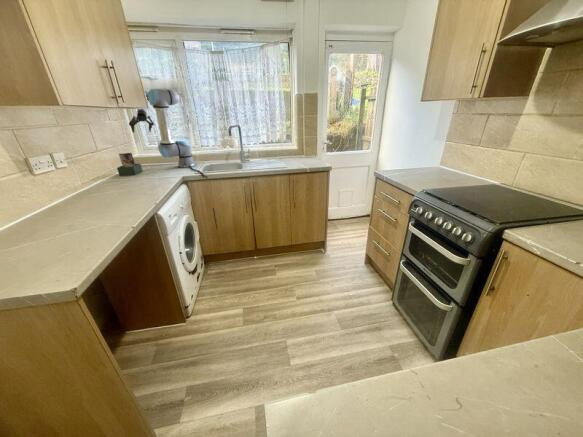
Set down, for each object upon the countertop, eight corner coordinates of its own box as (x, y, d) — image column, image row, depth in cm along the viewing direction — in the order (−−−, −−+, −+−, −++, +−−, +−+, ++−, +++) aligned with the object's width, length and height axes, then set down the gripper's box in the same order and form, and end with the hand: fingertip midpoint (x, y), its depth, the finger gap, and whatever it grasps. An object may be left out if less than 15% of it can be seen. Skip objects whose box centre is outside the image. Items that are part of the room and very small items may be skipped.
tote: (127, 172, 216) (125, 164, 213) (142, 171, 218) (140, 163, 215) (119, 176, 203) (116, 167, 200) (135, 175, 204) (133, 166, 202)
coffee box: (136, 171, 215) (131, 152, 208) (137, 172, 210) (132, 153, 203) (124, 172, 210) (118, 153, 203) (125, 174, 205) (119, 154, 199)
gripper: (158, 115, 230) (158, 133, 223) (128, 116, 225) (128, 134, 218) (155, 109, 223) (155, 127, 216) (125, 110, 218) (123, 128, 211)
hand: (141, 131), depth 217 cm, fingers open, 13 cm apart
